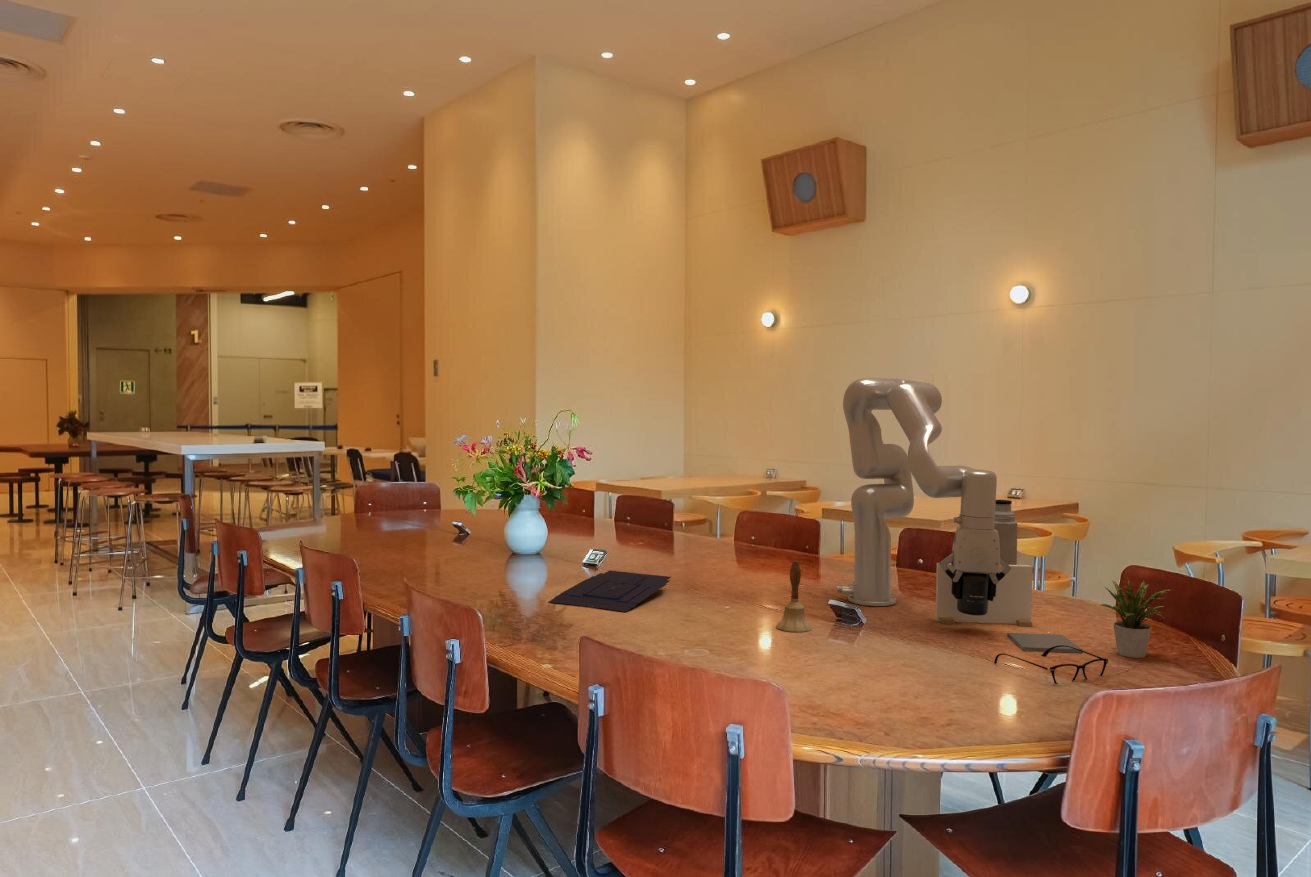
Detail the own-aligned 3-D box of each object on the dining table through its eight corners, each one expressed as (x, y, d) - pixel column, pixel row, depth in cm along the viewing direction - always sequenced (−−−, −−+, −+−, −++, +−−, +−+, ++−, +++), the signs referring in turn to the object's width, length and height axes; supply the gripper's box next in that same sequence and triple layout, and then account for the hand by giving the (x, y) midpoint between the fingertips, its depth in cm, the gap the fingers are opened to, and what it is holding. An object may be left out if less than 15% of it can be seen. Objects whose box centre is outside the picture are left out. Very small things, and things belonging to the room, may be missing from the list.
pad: (1023, 650, 182) (1023, 647, 182) (1007, 636, 194) (1007, 632, 194) (1082, 653, 180) (1082, 649, 180) (1062, 638, 192) (1062, 634, 192)
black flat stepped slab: (678, 586, 242) (677, 574, 241) (627, 622, 215) (626, 608, 215) (604, 578, 253) (603, 566, 252) (547, 611, 226) (546, 598, 226)
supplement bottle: (973, 617, 194) (976, 565, 193) (950, 609, 200) (952, 559, 199) (994, 614, 197) (997, 563, 196) (971, 606, 203) (973, 557, 202)
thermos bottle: (979, 601, 229) (981, 498, 228) (1010, 602, 228) (1012, 498, 227) (988, 608, 221) (990, 501, 220) (1020, 609, 220) (1022, 501, 219)
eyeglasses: (1050, 688, 158) (1050, 667, 158) (986, 665, 173) (987, 645, 173) (1113, 678, 165) (1113, 657, 165) (1046, 656, 179) (1047, 637, 179)
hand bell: (815, 626, 203) (816, 559, 202) (806, 634, 195) (807, 565, 195) (782, 622, 206) (782, 556, 206) (771, 630, 199) (772, 562, 198)
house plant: (1172, 670, 168) (1174, 588, 168) (1094, 659, 176) (1095, 581, 175) (1173, 653, 181) (1175, 576, 180) (1100, 643, 188) (1101, 570, 187)
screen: (939, 623, 205) (939, 565, 205) (934, 617, 211) (934, 561, 211) (1034, 626, 203) (1035, 568, 202) (1026, 620, 208) (1027, 563, 208)
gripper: (941, 524, 194) (938, 600, 196) (1021, 527, 192) (1016, 605, 193) (935, 518, 202) (931, 592, 203) (1011, 522, 200) (1007, 596, 201)
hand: (973, 598), depth 198 cm, fingers closed on supplement bottle, 6 cm apart
